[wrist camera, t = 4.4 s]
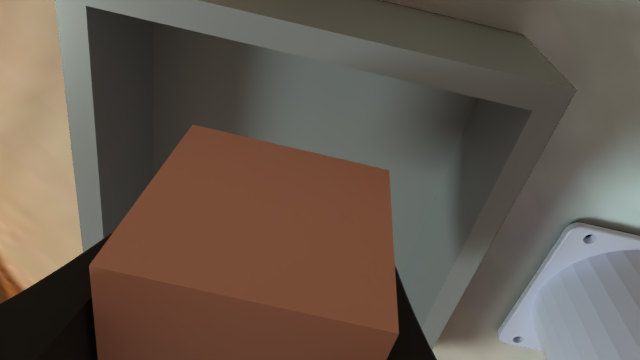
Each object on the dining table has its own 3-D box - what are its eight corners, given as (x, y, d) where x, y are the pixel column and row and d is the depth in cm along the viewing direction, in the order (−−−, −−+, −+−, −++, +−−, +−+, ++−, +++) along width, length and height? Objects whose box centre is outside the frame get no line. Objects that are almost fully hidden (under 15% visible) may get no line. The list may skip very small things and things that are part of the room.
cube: (389, 170, 12) (398, 333, 7) (342, 303, 14) (330, 476, 10) (192, 124, 11) (88, 265, 7) (183, 267, 14) (104, 430, 10)
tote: (523, 34, 16) (577, 89, 12) (382, 344, 26) (385, 434, 22) (136, -59, 16) (51, -35, 11) (142, 292, 25) (96, 374, 21)
